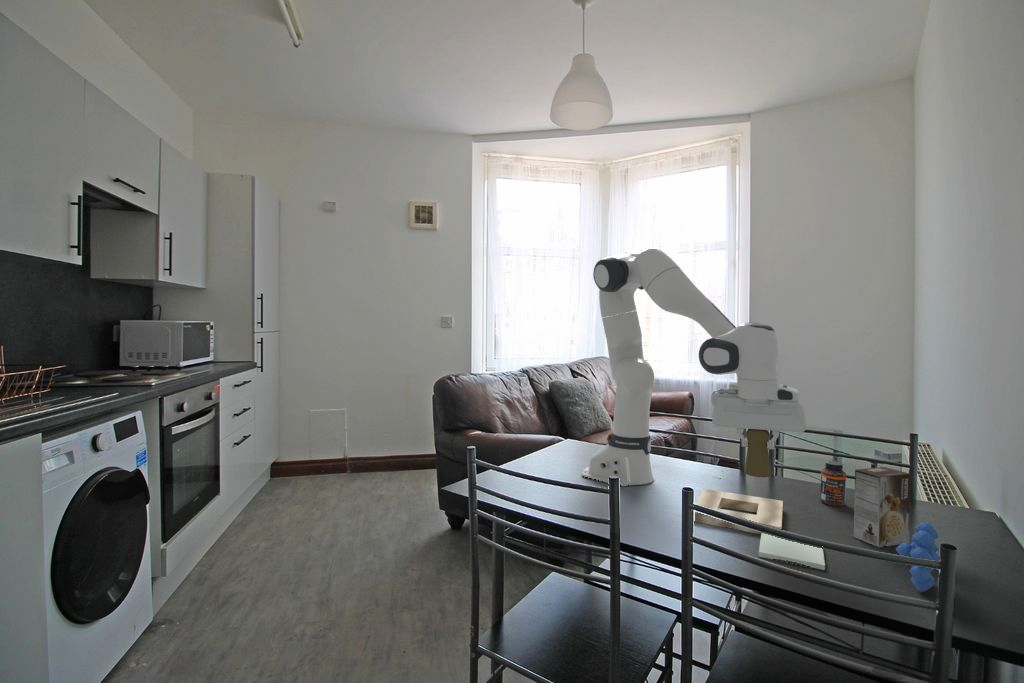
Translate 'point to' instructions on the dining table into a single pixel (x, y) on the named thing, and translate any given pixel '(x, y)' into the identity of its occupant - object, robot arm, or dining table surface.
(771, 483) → the dining table surface
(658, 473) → the dining table surface
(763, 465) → the cork
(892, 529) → the cookie box
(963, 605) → the dining table surface
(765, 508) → the socket plate
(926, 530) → the grapes
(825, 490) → the supplement bottle
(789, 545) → the pad
